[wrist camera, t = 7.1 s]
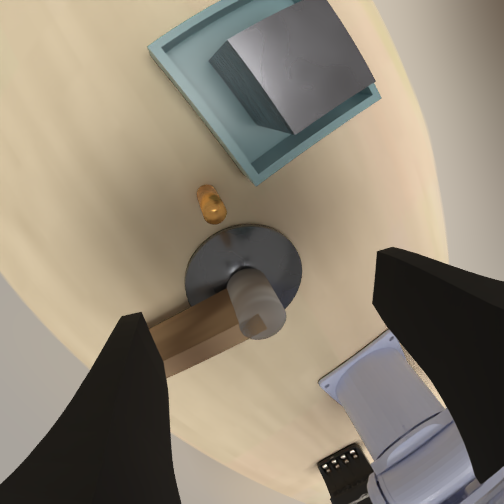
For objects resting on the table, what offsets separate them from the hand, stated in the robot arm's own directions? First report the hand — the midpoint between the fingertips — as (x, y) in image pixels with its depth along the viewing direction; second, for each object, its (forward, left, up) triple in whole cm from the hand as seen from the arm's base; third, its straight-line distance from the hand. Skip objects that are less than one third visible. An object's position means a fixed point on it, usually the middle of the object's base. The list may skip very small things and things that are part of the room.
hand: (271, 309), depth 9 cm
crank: (-4, +2, -9) cm, 10 cm away
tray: (+5, -6, -9) cm, 12 cm away
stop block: (+5, -6, -8) cm, 11 cm away
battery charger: (-37, +9, -9) cm, 39 cm away
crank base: (-4, +2, -9) cm, 10 cm away
